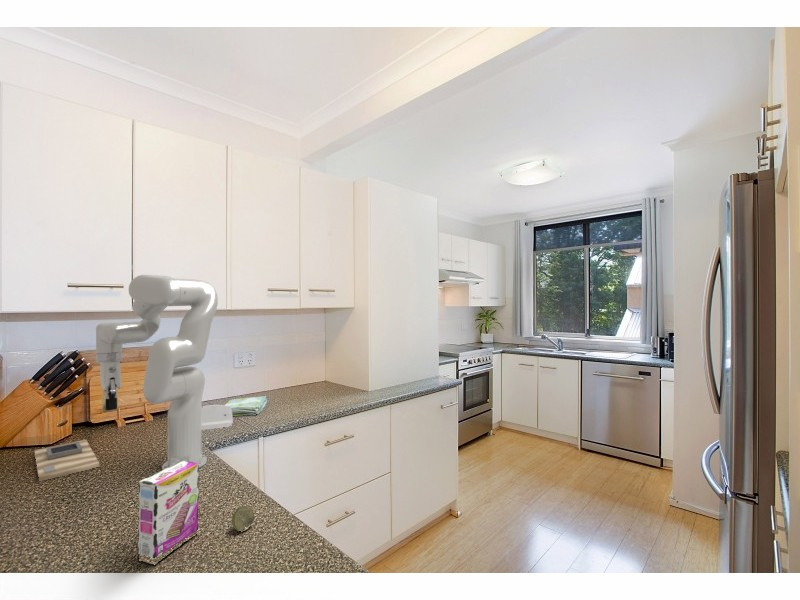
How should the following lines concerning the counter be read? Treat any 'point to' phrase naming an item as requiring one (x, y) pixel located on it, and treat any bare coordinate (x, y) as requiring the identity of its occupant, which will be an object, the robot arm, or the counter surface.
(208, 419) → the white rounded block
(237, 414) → the towel
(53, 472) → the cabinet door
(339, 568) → the counter surface
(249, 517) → the lime
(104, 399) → the hinge barrel
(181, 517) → the candy bar box
